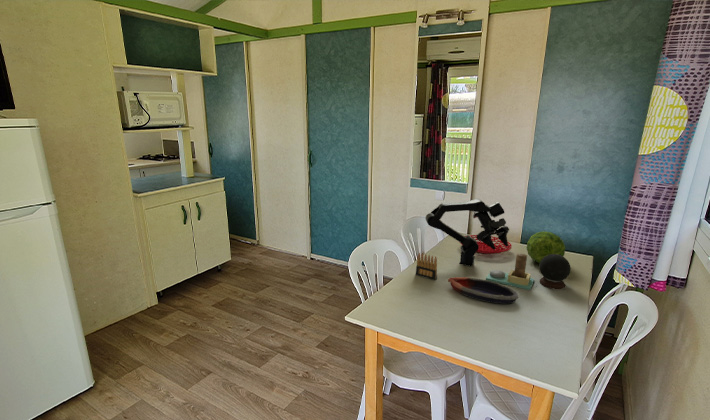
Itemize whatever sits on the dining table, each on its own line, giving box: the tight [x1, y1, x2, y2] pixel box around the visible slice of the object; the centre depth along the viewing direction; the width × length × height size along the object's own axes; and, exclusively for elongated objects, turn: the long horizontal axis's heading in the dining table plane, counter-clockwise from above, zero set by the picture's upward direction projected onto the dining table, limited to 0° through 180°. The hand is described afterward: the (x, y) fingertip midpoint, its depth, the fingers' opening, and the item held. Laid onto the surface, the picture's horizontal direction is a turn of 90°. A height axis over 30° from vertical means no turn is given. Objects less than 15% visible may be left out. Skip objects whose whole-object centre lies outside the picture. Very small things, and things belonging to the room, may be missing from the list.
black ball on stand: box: [538, 254, 572, 290], centre depth 178 cm, size 13×13×15 cm
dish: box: [447, 276, 519, 304], centre depth 168 cm, size 16×31×5 cm, turn 55°
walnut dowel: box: [514, 253, 528, 278], centre depth 179 cm, size 5×5×13 cm
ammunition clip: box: [415, 252, 438, 281], centre depth 185 cm, size 11×2×12 cm, turn 55°
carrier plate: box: [485, 269, 535, 291], centre depth 183 cm, size 20×12×4 cm, turn 57°
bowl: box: [460, 234, 512, 255], centre depth 222 cm, size 29×30×5 cm
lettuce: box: [526, 230, 566, 265], centre depth 204 cm, size 19×23×18 cm
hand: (501, 247), depth 189 cm, fingers open, 9 cm apart
